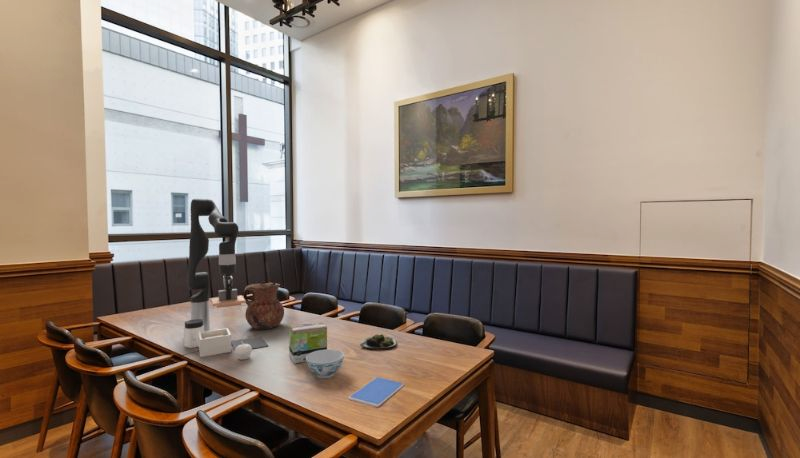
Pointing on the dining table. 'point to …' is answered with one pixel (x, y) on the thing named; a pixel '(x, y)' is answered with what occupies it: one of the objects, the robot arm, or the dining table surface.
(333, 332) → the dining table surface
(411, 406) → the dining table surface
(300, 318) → the dining table surface
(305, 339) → the tea box
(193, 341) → the jar
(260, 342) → the mat
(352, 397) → the tablet computer
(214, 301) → the lid
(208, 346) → the storage box
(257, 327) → the jug
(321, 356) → the chinaware
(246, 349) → the plain white apple
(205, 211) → the robot arm
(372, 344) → the salad plate
